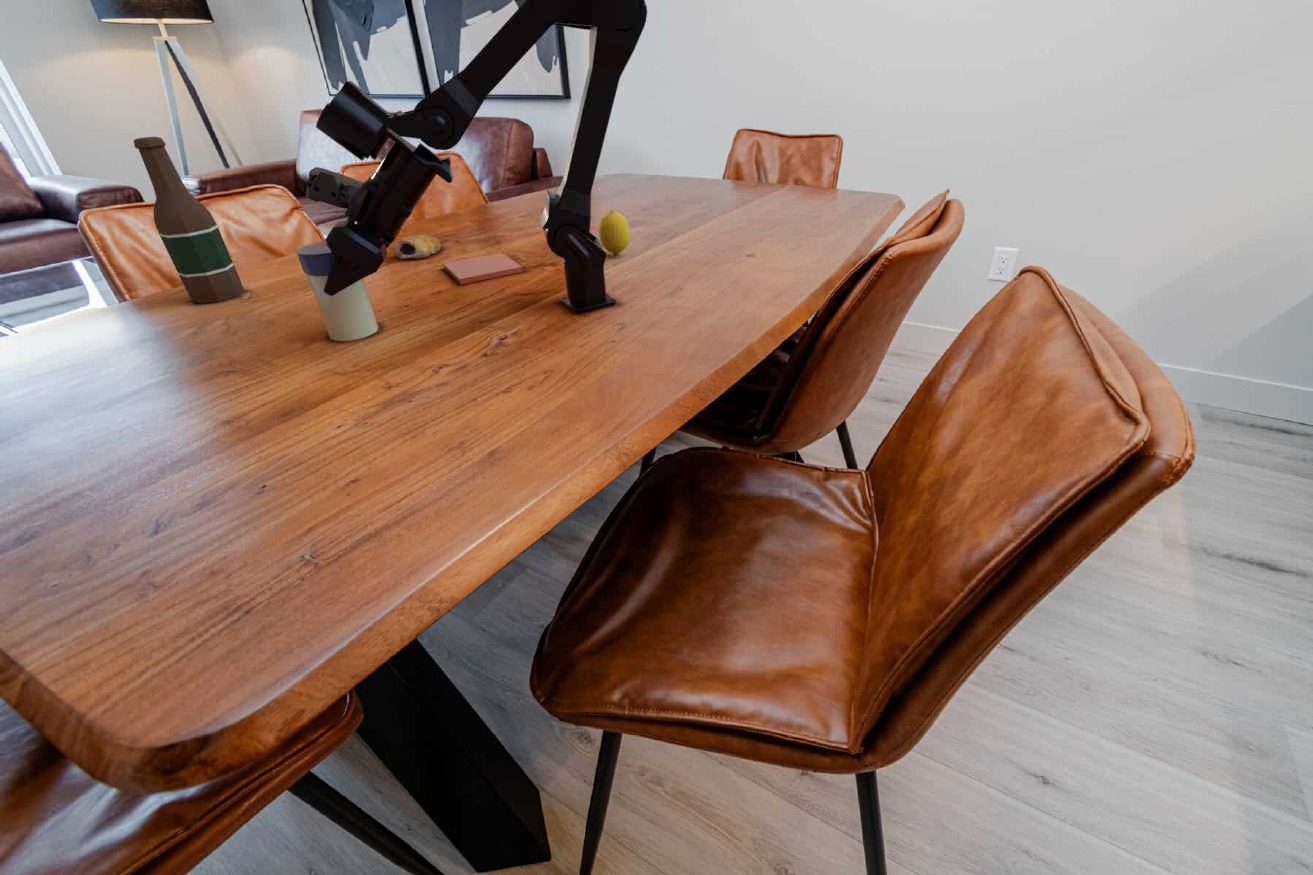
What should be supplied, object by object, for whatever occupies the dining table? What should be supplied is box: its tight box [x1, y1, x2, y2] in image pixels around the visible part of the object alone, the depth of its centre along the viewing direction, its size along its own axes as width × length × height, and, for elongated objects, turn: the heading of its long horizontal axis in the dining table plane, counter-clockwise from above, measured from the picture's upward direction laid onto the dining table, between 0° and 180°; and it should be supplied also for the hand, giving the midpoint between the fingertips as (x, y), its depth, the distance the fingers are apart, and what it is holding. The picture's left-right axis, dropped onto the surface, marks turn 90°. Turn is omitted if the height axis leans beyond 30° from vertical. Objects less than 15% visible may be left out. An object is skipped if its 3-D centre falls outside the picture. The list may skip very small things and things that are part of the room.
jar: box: [306, 274, 379, 342], centre depth 81 cm, size 6×6×11 cm
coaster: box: [443, 252, 524, 285], centre depth 106 cm, size 11×11×1 cm
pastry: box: [394, 234, 442, 260], centre depth 117 cm, size 9×7×4 cm
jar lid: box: [296, 240, 333, 275], centre depth 78 cm, size 7×7×3 cm
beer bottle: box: [133, 136, 244, 305], centre depth 94 cm, size 8×8×24 cm
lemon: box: [598, 209, 631, 257], centre depth 108 cm, size 6×6×8 cm
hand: (335, 282), depth 80 cm, fingers open, 9 cm apart
